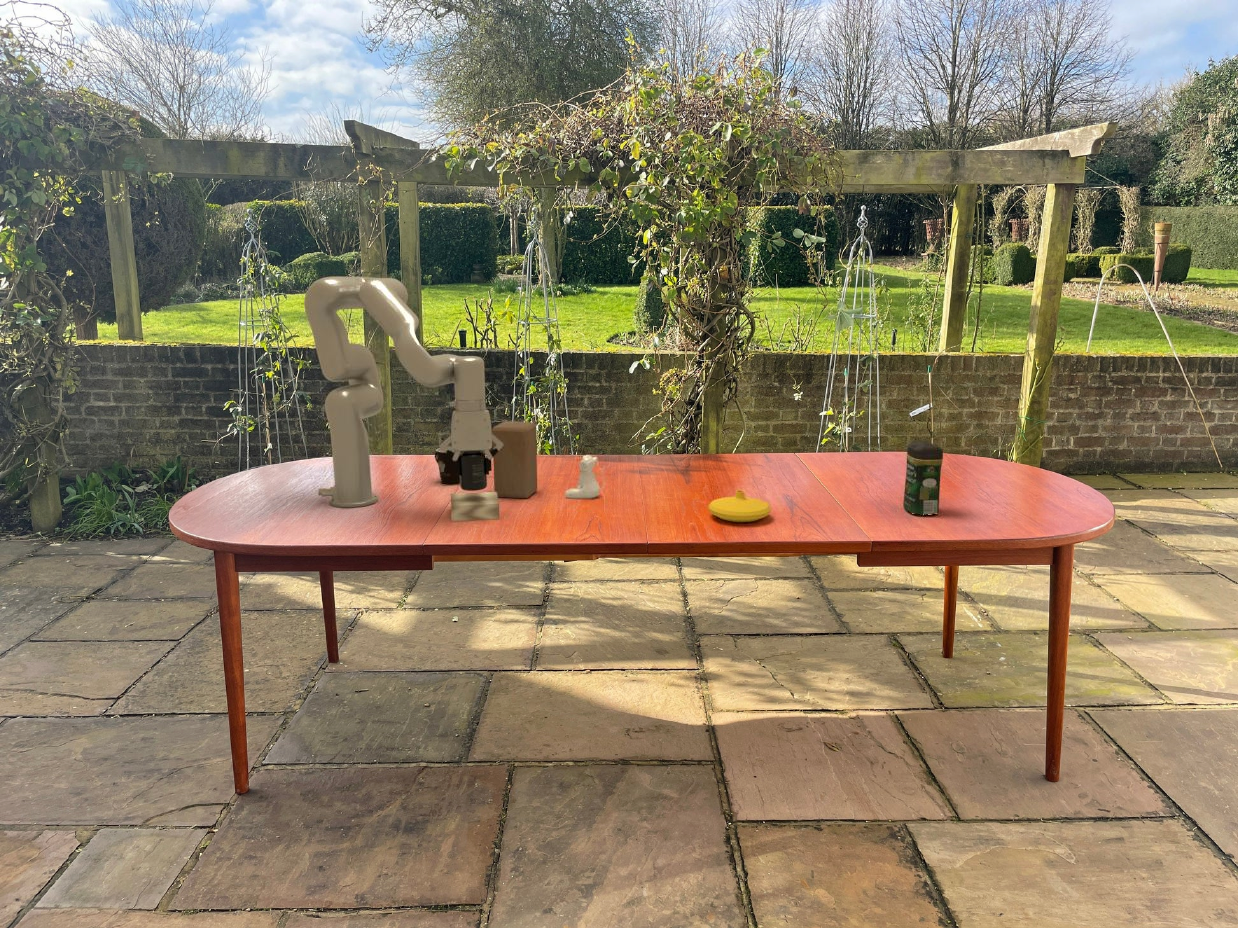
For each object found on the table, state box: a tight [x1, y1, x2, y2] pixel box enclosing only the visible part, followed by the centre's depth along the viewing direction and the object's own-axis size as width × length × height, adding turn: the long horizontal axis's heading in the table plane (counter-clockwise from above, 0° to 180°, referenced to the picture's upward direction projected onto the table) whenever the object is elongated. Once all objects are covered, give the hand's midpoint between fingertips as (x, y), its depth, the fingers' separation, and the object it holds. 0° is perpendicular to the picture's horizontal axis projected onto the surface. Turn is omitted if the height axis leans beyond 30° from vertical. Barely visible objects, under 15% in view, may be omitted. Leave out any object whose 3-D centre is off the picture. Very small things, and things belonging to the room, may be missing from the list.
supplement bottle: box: [459, 451, 488, 492], centre depth 220 cm, size 7×7×12 cm
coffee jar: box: [902, 440, 944, 516], centre depth 221 cm, size 10×8×19 cm
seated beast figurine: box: [565, 454, 601, 500], centre depth 238 cm, size 10×9×12 cm
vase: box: [708, 490, 772, 523], centre depth 218 cm, size 16×16×7 cm
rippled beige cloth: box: [450, 491, 501, 522], centre depth 222 cm, size 12×12×4 cm
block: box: [491, 421, 538, 499], centre depth 240 cm, size 10×10×20 cm
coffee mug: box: [434, 446, 463, 486], centre depth 256 cm, size 12×9×10 cm
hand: (473, 473), depth 220 cm, fingers closed on supplement bottle, 6 cm apart
